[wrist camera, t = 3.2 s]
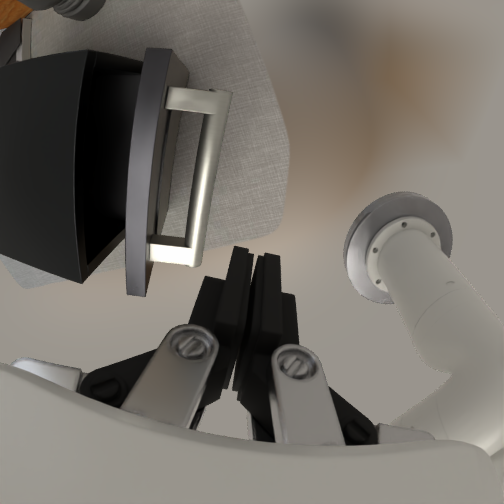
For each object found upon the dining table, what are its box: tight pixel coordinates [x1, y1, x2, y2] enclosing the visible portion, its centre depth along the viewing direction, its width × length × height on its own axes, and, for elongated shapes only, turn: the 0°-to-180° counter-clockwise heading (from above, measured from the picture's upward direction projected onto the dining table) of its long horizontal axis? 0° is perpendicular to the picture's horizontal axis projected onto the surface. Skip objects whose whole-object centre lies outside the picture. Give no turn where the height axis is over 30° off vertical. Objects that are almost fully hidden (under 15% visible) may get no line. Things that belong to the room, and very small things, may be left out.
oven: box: [0, 50, 143, 284], centre depth 24 cm, size 18×18×18 cm
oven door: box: [125, 48, 233, 297], centre depth 25 cm, size 6×18×18 cm, turn 168°
